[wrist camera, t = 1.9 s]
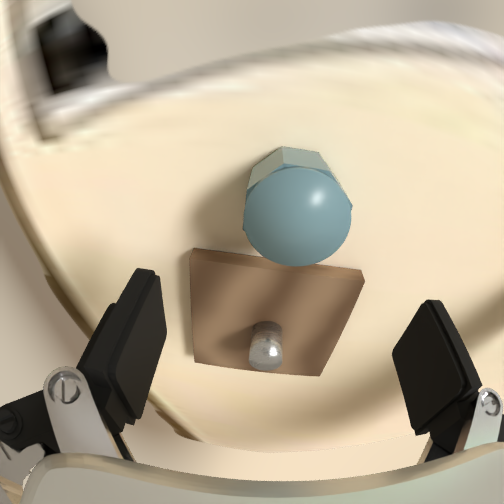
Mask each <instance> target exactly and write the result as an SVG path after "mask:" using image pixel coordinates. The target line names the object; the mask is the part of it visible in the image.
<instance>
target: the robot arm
mask: <svg viewBox="0 0 504 504" xmlns="http://www.w3.org/2000/svg"><path fill="white" fill-rule="evenodd" d="M166 335H167V328H166V321H165V314H164V307H163V299H162V291H161V283H160V277H159V276H158V275H155V272H154V271H153V270H147V269H141V268H137V269H136V270H135V272H134V273H133V275H132V277H131V278H130V280H129V282H128V283H127V285H126V287H125V289H124V290H123V292H122V294H121V296H120V298H119V299H118V301H117V303H112V304H110V305H109V307H108V308H107V310H106V311H105V313H104V315H103V317H102V319H101V320H100V322H99V324H98V326H97V328H96V330H95V331H94V333H93V335H92V337H91V339H90V341H89V343H88V345H87V347H86V349H85V351H84V353H83V355H82V357H81V359H80V361H79V363H78V365H77V367H76V369H75V368H73V367H67V366H65V367H60V368H57V369H55V370H53V371H52V372H51V373H50V374H49V375H48V376H47V378H46V380H45V382H44V386H43V390H41V391H38V392H36V393H33V394H31V395H28V396H26V397H23V398H21V399H18V400H16V401H13V402H10V403H8V404H5V405H3V406H2V407H0V504H504V414H502V413H503V404H502V400H501V398H500V396H499V395H498V394H497V392H495V391H494V390H493V389H490V388H485V389H482V390H481V391H480V392H478V389H479V388H480V387H481V386H482V383H481V381H480V378H479V376H478V373H477V371H476V369H475V367H474V364H473V362H472V360H471V358H470V356H469V353H468V351H467V349H466V347H465V345H464V343H463V341H462V339H461V337H460V335H459V333H458V331H457V329H456V327H455V325H454V323H453V321H452V320H451V318H450V316H449V314H448V312H447V310H446V309H445V307H444V305H443V303H442V302H441V301H440V300H426V301H425V302H424V303H423V304H421V306H420V307H419V309H418V311H417V312H416V314H415V316H414V317H413V319H412V321H411V322H410V324H409V326H408V327H407V329H406V330H405V332H404V333H403V335H402V337H401V338H400V340H399V341H398V343H397V344H396V346H395V347H394V349H393V352H392V357H393V361H394V364H395V367H396V371H397V374H398V378H399V381H400V385H401V388H402V392H403V396H404V399H405V403H406V407H407V411H408V415H409V419H410V423H411V427H412V428H413V429H414V430H415V435H416V436H417V435H422V434H426V433H428V432H430V437H429V440H428V442H427V444H426V446H425V449H424V451H423V453H422V455H421V457H420V459H419V461H418V463H417V465H414V466H410V467H406V468H402V469H397V470H393V471H387V472H382V473H377V474H371V475H365V476H357V477H350V478H341V479H330V480H317V481H251V480H238V479H227V478H218V477H211V476H203V475H197V474H190V473H184V472H178V471H173V470H168V469H163V468H159V467H154V466H150V465H145V464H141V463H137V462H136V460H135V459H134V457H133V455H132V453H131V451H130V449H129V447H128V446H127V444H126V442H125V440H124V438H123V436H122V434H121V432H122V431H123V429H124V426H125V423H127V424H131V425H134V423H135V420H136V419H140V418H141V416H142V414H143V410H144V407H145V403H146V400H147V397H148V393H149V390H150V387H151V383H152V380H153V377H154V374H155V371H156V367H157V364H158V361H159V358H160V355H161V352H162V349H163V346H164V343H165V340H166ZM35 465H36V466H35ZM34 466H35V467H34ZM33 467H34V469H33V470H32V472H30V469H31V468H33ZM30 473H31V474H30ZM28 474H30V476H29V478H28V480H27V483H26V485H25V488H24V491H23V488H22V485H23V480H24V479H25V477H26V476H27V475H28Z"/></svg>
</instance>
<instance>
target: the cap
mask: <svg viewBox="0 0 504 504" xmlns="http://www.w3.org/2000/svg"><path fill="white" fill-rule="evenodd" d="M351 210H352V204H351V202H350V200H349V198H348V197H347V195H346V193H345V192H344V190H343V188H342V187H341V185H340V183H339V182H338V180H337V179H336V177H335V176H334V174H333V173H332V171H331V170H330V168H329V167H328V165H327V164H326V162H325V161H324V160H323V158H322V157H321V155H320V154H319V152H314V151H308V150H302V149H296V148H290V147H283V146H282V147H280V148H279V149H278V150H276V151H275V152H273V153H272V154H271V155H269V156H268V157H266V158H265V159H264V160H262V161H261V162H259V163H258V164H257V165H255V166H254V167H253V169H252V172H251V176H250V180H249V184H248V187H247V194H246V203H245V210H244V222H243V230H244V231H245V232H246V235H247V237H248V239H249V241H250V243H251V244H252V246H253V247H254V248H255V249H256V250H257V251H258V252H259V253H260V254H261V255H263V256H264V257H265V258H267V259H269V260H270V261H273V262H275V263H278V264H281V265H286V266H307V265H311V264H315V263H318V262H320V261H322V260H324V259H326V258H328V257H329V256H331V255H332V254H333V253H334V252H336V251H337V250H338V248H339V247H340V246H341V245H342V244H343V242H344V241H345V239H346V237H347V235H348V232H349V229H350V225H351Z"/></svg>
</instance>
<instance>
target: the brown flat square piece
mask: <svg viewBox="0 0 504 504" xmlns="http://www.w3.org/2000/svg"><path fill="white" fill-rule="evenodd" d="M364 282H365V280H364V277H363V274H362V272H361V270H356V269H348V268H340V267H332V266H325V265H317V264H311V265H307V266H286V265H281V264H278V263H275V262H273V261H270V260H269V259H267V258H264V257H256V256H249V255H241V254H234V253H226V252H219V251H211V250H204V249H197V248H194V250H193V252H192V254H191V257H190V290H191V313H192V331H193V347H194V361H195V362H196V363H202V364H208V365H214V366H220V367H227V368H234V369H242V370H250V371H258V372H268V373H278V374H290V375H304V376H320V374H321V373H322V371H323V369H324V367H325V365H326V363H327V361H328V359H329V358H330V356H331V354H332V352H333V350H334V348H335V346H336V344H337V342H338V340H339V338H340V336H341V334H342V332H343V329H344V327H345V325H346V323H347V321H348V319H349V317H350V315H351V312H352V310H353V308H354V306H355V303H356V301H357V299H358V297H359V294H360V292H361V290H362V287H363V285H364ZM261 321H272V322H275V323H277V324H279V325H280V326H281V327H282V364H281V366H280V367H278V368H277V369H274V370H269V371H263V370H258V369H256V368H254V367H252V366H251V365H250V364H249V353H250V344H251V334H252V328H253V326H254V325H255V324H256V323H258V322H261Z"/></svg>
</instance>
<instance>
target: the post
mask: <svg viewBox="0 0 504 504" xmlns="http://www.w3.org/2000/svg"><path fill="white" fill-rule="evenodd" d="M249 364H250V365H251V366H252V367H254V368H256V369H258V370H263V371H269V370H274V369H277V368H278V367H280V366H281V364H282V327H281V326H280V325H279V324H277V323H275V322H272V321H261V322H258V323H256V324H255V325H254V326H253V328H252V334H251V344H250V353H249Z"/></svg>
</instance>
